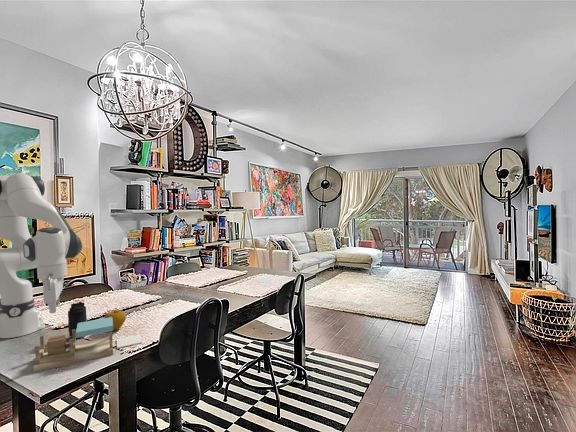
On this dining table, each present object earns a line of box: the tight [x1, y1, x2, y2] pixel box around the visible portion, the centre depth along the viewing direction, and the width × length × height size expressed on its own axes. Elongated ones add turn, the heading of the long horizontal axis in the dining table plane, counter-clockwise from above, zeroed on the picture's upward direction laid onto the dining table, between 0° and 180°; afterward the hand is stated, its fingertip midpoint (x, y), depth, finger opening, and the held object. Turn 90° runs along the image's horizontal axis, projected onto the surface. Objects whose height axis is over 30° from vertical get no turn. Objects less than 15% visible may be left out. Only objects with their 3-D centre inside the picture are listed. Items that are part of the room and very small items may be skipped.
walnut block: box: [46, 334, 67, 357], centre depth 119 cm, size 5×5×6 cm
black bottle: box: [67, 301, 88, 339], centre depth 140 cm, size 7×7×15 cm
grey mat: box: [116, 334, 143, 350], centre depth 133 cm, size 9×9×1 cm
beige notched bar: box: [33, 329, 114, 373], centre depth 122 cm, size 14×24×8 cm, turn 120°
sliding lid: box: [76, 317, 114, 339], centre depth 125 cm, size 11×12×2 cm
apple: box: [104, 309, 127, 331], centre depth 146 cm, size 9×9×9 cm
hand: (54, 309), depth 118 cm, fingers open, 8 cm apart
